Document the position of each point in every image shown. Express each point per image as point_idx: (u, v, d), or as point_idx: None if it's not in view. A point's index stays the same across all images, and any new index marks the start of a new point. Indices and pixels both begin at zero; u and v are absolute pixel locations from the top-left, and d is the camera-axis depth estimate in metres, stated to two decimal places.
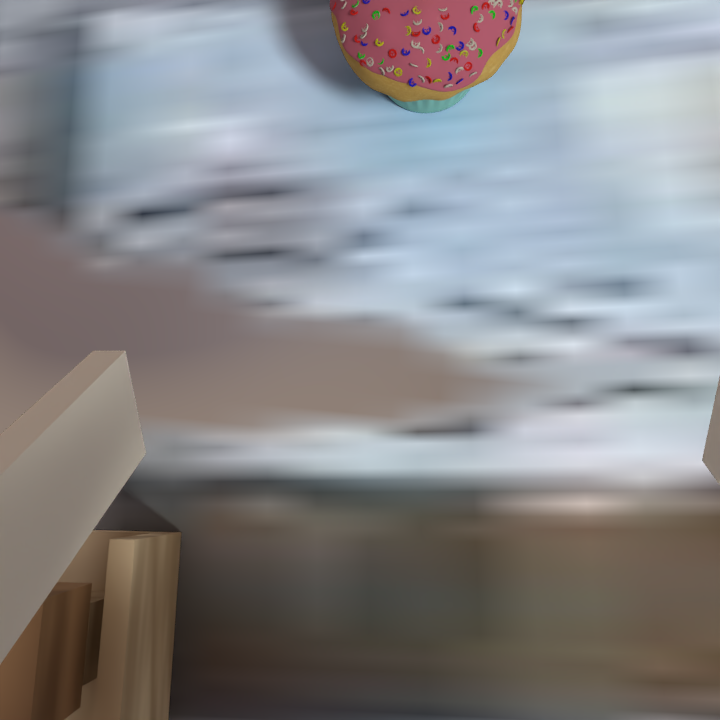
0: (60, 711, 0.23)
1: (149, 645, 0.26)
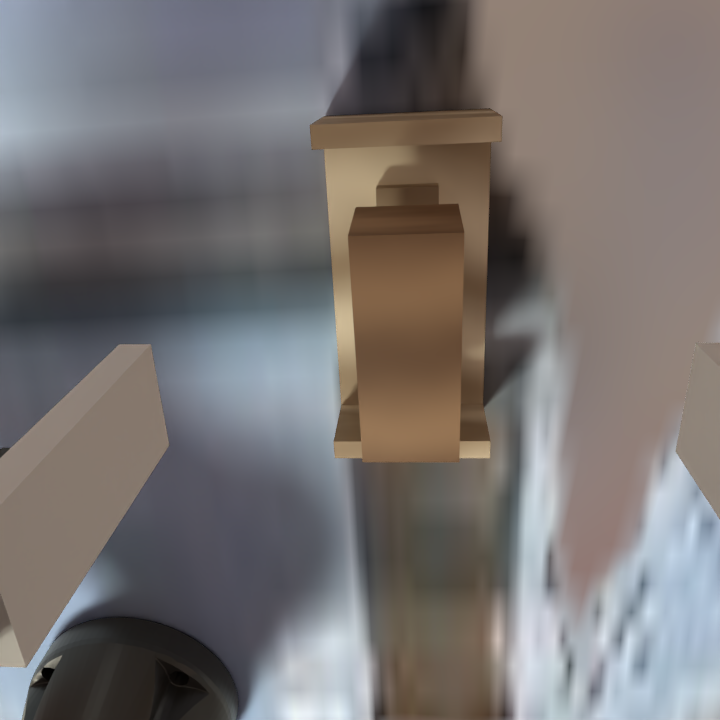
0: None
1: None
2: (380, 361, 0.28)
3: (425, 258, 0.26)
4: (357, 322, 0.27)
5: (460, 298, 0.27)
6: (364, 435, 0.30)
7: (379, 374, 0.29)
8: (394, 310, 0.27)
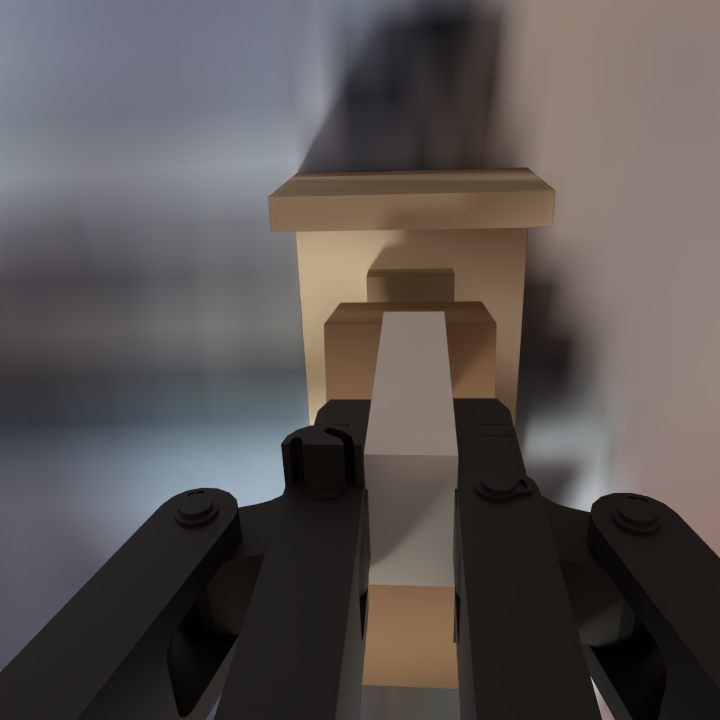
0: None
1: None
2: None
3: None
4: None
5: None
6: None
7: None
8: None
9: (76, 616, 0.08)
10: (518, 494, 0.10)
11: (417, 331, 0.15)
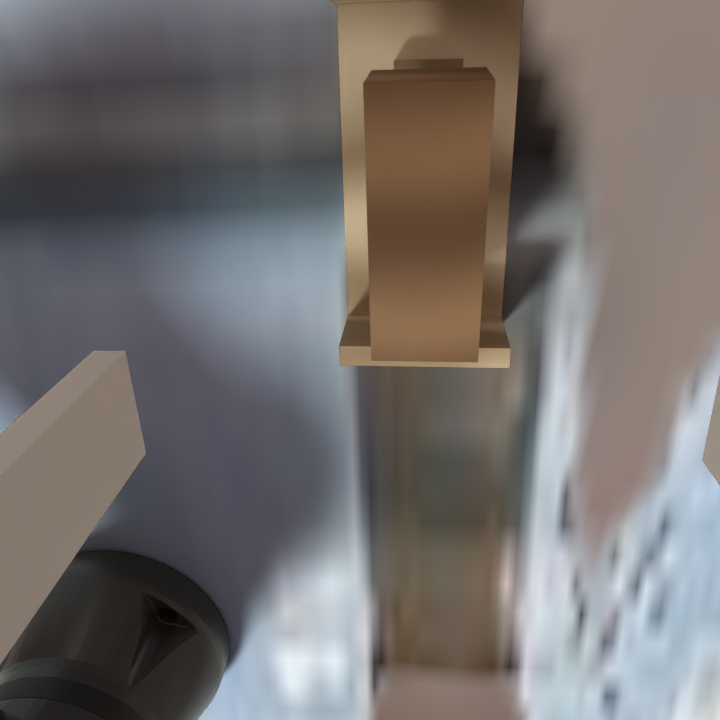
0: None
1: None
2: (395, 239, 0.25)
3: (450, 112, 0.23)
4: (370, 191, 0.25)
5: (487, 162, 0.24)
6: (374, 328, 0.27)
7: (393, 255, 0.26)
8: (413, 175, 0.24)
9: None
10: None
11: None
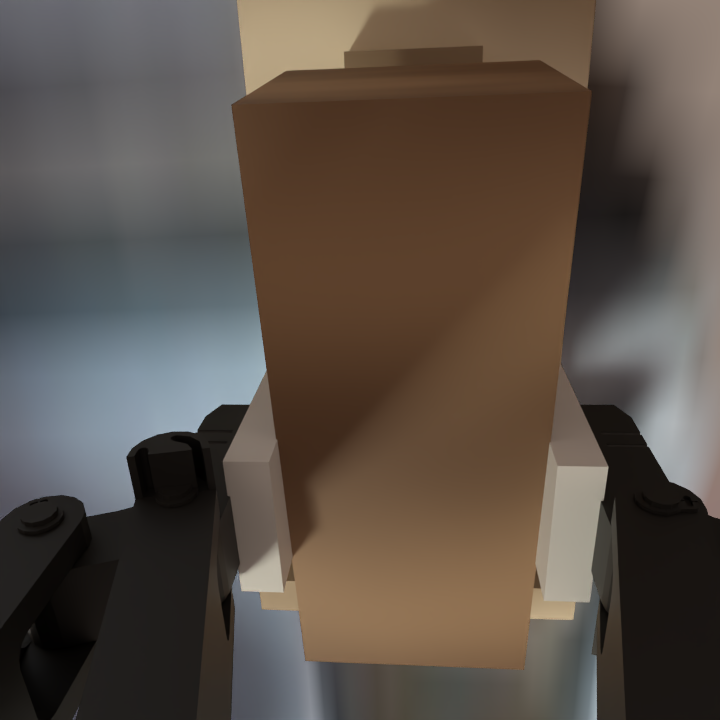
0: None
1: None
2: (340, 455, 0.11)
3: (467, 176, 0.09)
4: (275, 358, 0.10)
5: (559, 297, 0.09)
6: (307, 611, 0.13)
7: (338, 484, 0.11)
8: (374, 327, 0.10)
9: None
10: (681, 510, 0.09)
11: None
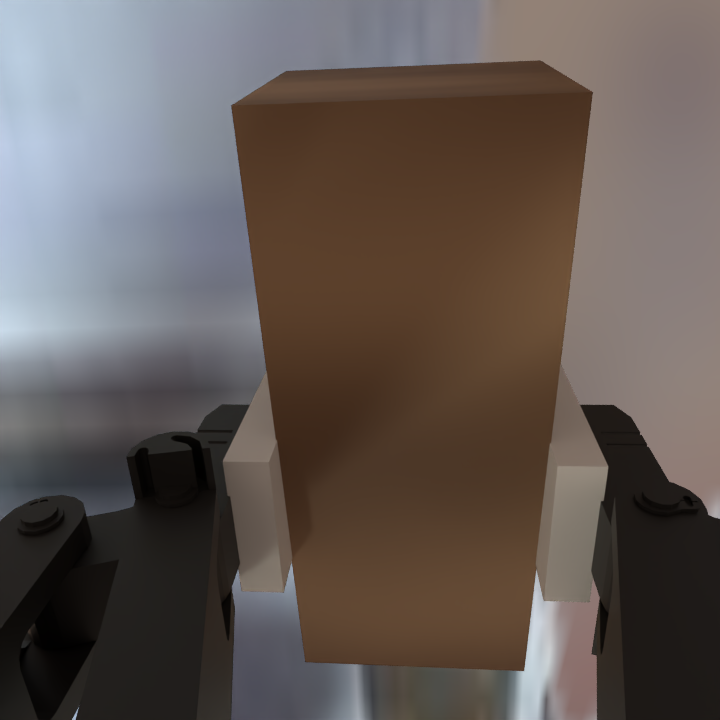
0: None
1: None
2: (340, 456, 0.11)
3: (468, 177, 0.09)
4: (276, 359, 0.10)
5: (560, 298, 0.09)
6: (307, 612, 0.13)
7: (338, 486, 0.11)
8: (374, 328, 0.10)
9: None
10: (682, 510, 0.09)
11: None
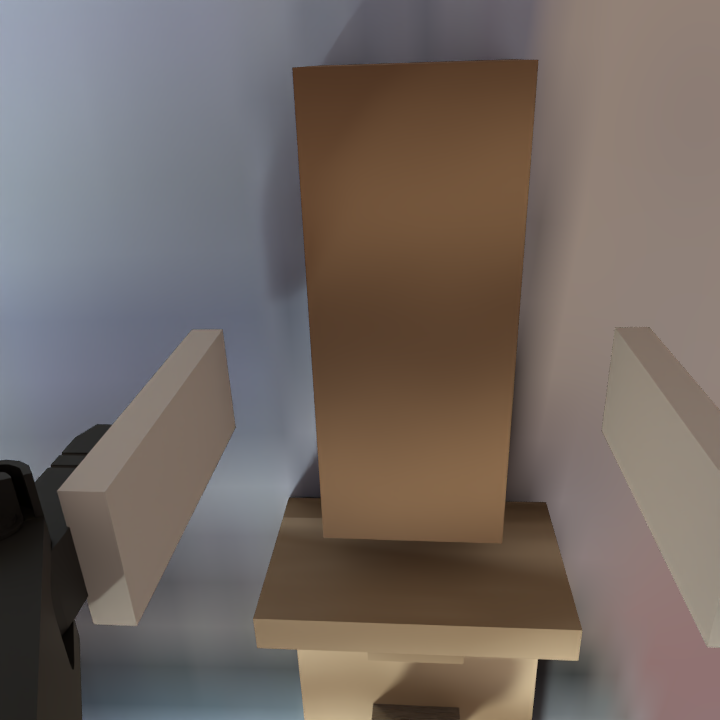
0: None
1: None
2: (358, 343, 0.15)
3: (454, 120, 0.12)
4: (313, 261, 0.14)
5: (520, 211, 0.13)
6: (326, 488, 0.16)
7: (355, 370, 0.15)
8: (386, 236, 0.13)
9: None
10: None
11: (637, 350, 0.14)
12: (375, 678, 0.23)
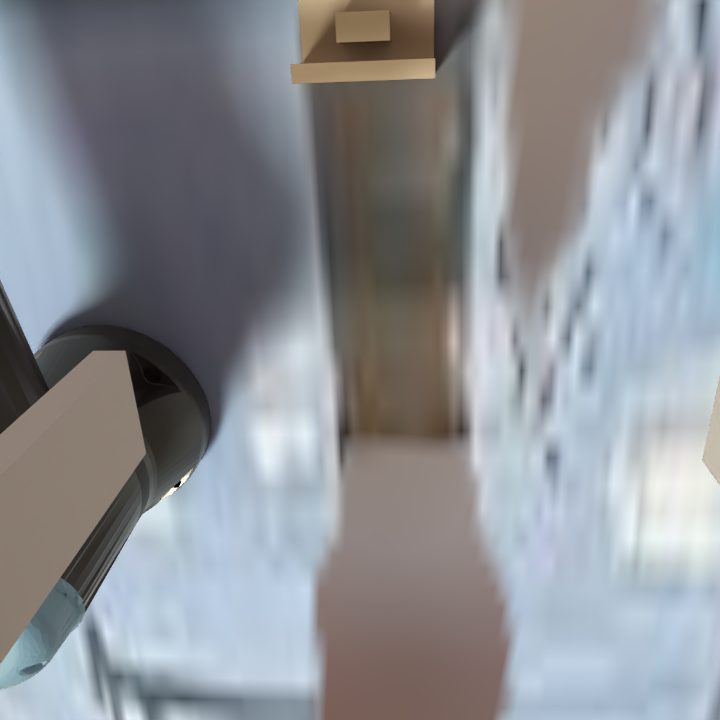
0: None
1: None
2: None
3: None
4: None
5: None
6: None
7: None
8: None
9: None
10: None
11: None
12: None
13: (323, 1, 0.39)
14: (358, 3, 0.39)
